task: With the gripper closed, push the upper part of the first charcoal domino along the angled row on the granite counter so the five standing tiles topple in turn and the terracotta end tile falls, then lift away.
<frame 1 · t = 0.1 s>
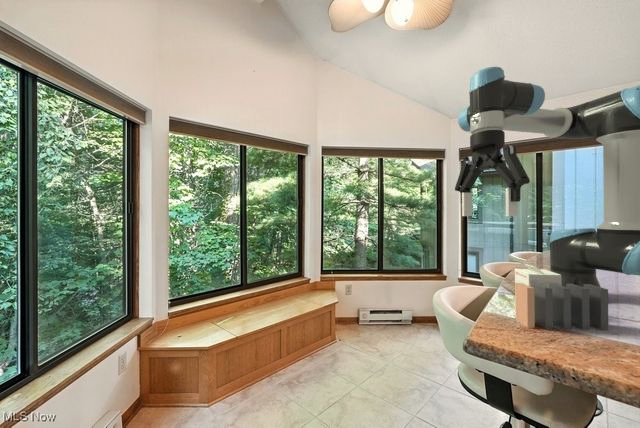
hand: (487, 216, 70), 28 cm above the bar counter, fingers open, 13 cm apart
domino 5: (524, 324, 72), on the bar counter
domino 3: (559, 325, 71), on the bar counter
ink box: (537, 311, 81), on the bar counter
domino 4: (542, 324, 71), on the bar counter
domino 2: (577, 325, 70), on the bar counter
domino 1: (595, 326, 70), on the bar counter
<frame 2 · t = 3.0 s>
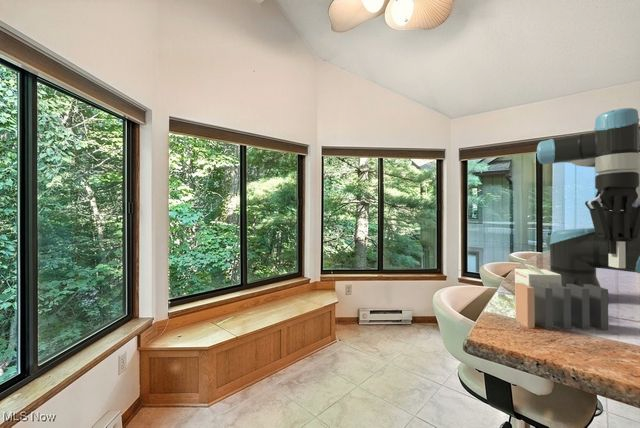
hand: (616, 267, 69), 15 cm above the bar counter, fingers closed
nothing on the bar counter moved.
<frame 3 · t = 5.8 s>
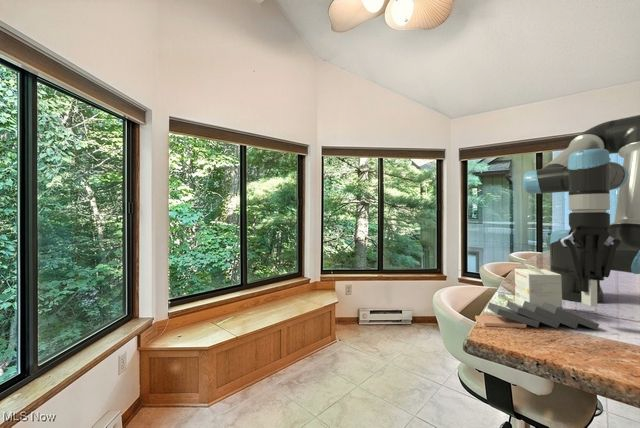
hand: (589, 304, 70), 5 cm above the bar counter, fingers closed
domino 5: (520, 323, 72), on the bar counter, tilted 90°, touching domino 4
domino 3: (551, 321, 71), point 1 cm above the bar counter, tilted 69°, touching domino 2
domino 4: (532, 320, 72), point 1 cm above the bar counter, tilted 73°, touching domino 5
domino 2: (569, 322, 71), point 1 cm above the bar counter, tilted 68°, touching domino 1, domino 3
domino 1: (589, 323, 70), point 1 cm above the bar counter, tilted 68°, touching domino 2
everything else where it was.
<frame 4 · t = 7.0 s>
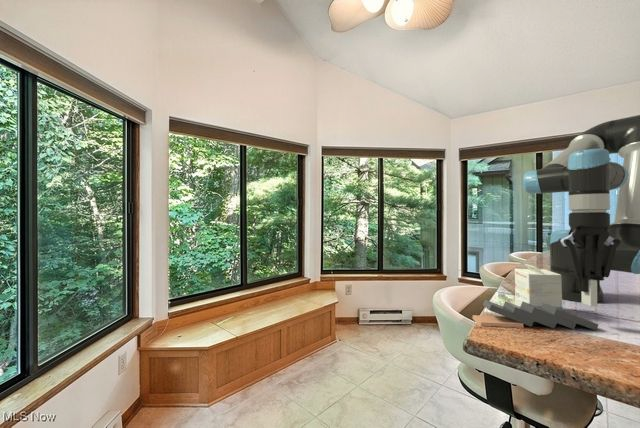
hand: (589, 304, 70), 5 cm above the bar counter, fingers closed
domino 5: (517, 323, 72), on the bar counter, tilted 90°
domino 3: (548, 321, 71), point 1 cm above the bar counter, tilted 69°, touching domino 2, domino 4
domino 4: (527, 320, 72), point 1 cm above the bar counter, tilted 70°, touching domino 3
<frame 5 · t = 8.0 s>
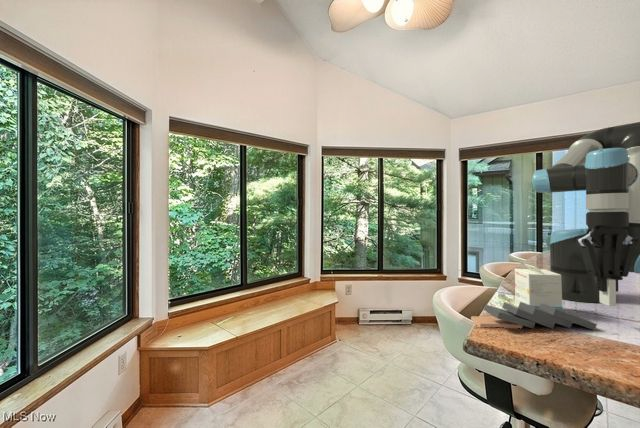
hand: (607, 304, 70), 6 cm above the bar counter, fingers closed
domino 5: (516, 324, 71), on the bar counter, tilted 90°, touching domino 4
domino 4: (526, 321, 71), point 1 cm above the bar counter, tilted 73°, touching domino 3, domino 5
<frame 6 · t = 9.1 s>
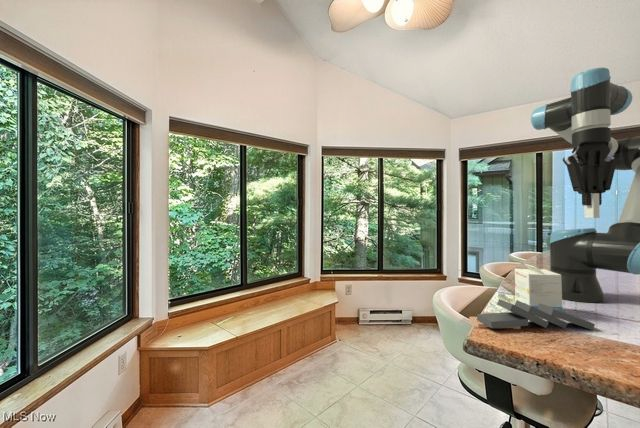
hand: (591, 217, 75), 27 cm above the bar counter, fingers closed
domino 3: (539, 321, 71), point 1 cm above the bar counter, tilted 63°, touching domino 2, domino 4
domino 4: (519, 318, 71), point 2 cm above the bar counter, tilted 90°, touching domino 3, domino 5
domino 2: (558, 321, 71), point 1 cm above the bar counter, tilted 65°, touching domino 3
domino 1: (585, 323, 70), point 1 cm above the bar counter, tilted 70°
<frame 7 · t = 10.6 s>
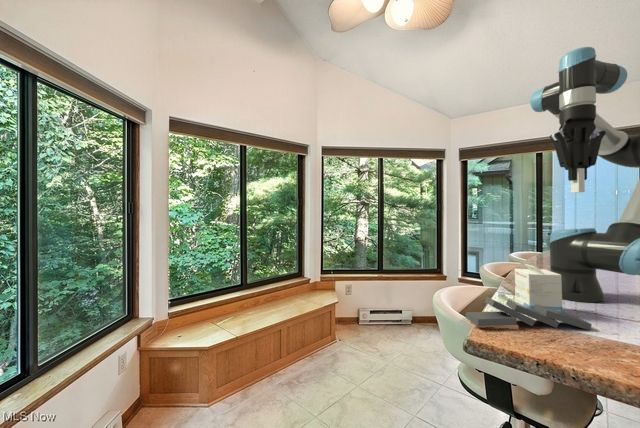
hand: (577, 192, 77), 34 cm above the bar counter, fingers closed
domino 3: (528, 320, 72), point 1 cm above the bar counter, tilted 64°, touching domino 2
domino 4: (508, 317, 71), point 2 cm above the bar counter, tilted 89°, touching domino 5
domino 2: (552, 321, 71), point 1 cm above the bar counter, tilted 68°, touching domino 1, domino 3
domino 1: (582, 323, 70), point 1 cm above the bar counter, tilted 73°, touching domino 2
at the end: domino 5 tilted 90°; domino 3 tilted 67° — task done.
